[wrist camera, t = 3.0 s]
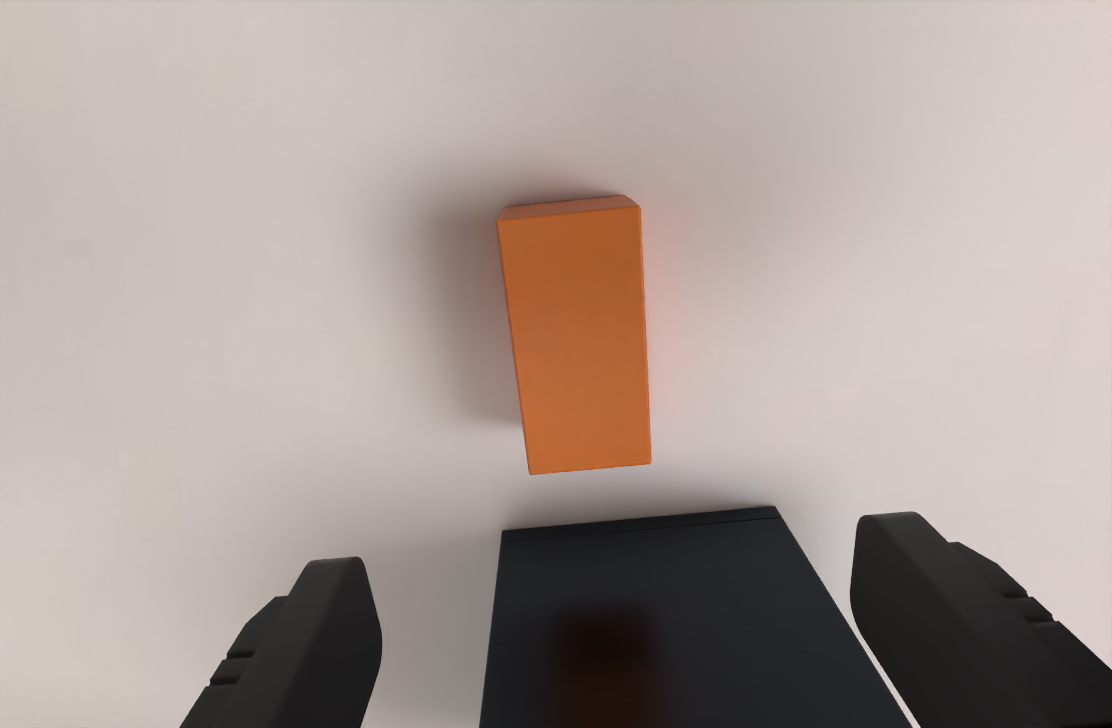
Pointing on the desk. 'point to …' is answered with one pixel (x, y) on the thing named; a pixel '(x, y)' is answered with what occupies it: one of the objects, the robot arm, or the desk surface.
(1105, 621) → the desk surface
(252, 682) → the robot arm
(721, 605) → the black open box
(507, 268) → the orange rectangular block
